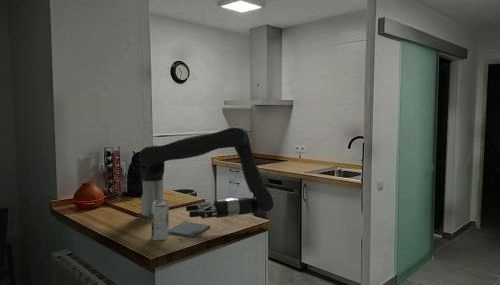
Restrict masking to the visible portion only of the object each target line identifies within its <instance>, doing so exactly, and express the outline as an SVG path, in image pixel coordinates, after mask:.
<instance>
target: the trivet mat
mask: <svg viewBox="0 0 500 285" xmlns="http://www.w3.org/2000/svg"><path fill="white" fill-rule="evenodd" d="M210 228H211V225H209V224H205V223H203V224H202V223H197V222H190V221H182V222H180V223H179V224H177V225H174V226H173V227H171V228H169V234H170V235H175V236H180V237H186V238H191V237H192V238H191V239H195V238H196V237H198V236H199V235H201V234H203V233H204V232H206V231H207V230H209V229H210ZM202 232H203V233H202ZM169 234H168V235H169Z"/></svg>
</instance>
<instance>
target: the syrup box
mask: <svg viewBox="0 0 500 285" xmlns="http://www.w3.org/2000/svg"><path fill="white" fill-rule="evenodd" d="M169 203H170V202H169V200H167V199H166V200H164V199H163V200H156V201H154V202H153V204H152V217H151V241H167V239H168V237H169V229H170V227H169V218H170V217H169V210H170V209H169Z"/></svg>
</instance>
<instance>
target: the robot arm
mask: <svg viewBox="0 0 500 285" xmlns="http://www.w3.org/2000/svg"><path fill="white" fill-rule="evenodd" d="M251 147H252V146H251V144H250V138H249V134H248V132H247V131H246V129H244V128H243V127H240V126H231V127H228V128H226V129H222V130H219V131H217V132H216V131H215V132H212V133H205V134H200V135H193V136H189V137H185V138H182V139H178V140H176V141H173V142H170V143H168V144H163V145H156V144H155V145H153V144H152V145H149V146H146V147H144V148H142V149H141V150H140V151H139V154H138V160H139V161H138V162H140V164H142V165H143V166H146V167H145V170H144V172H143V174H142V195H141V197H140V198H141V200H140V201H141V216H143V217H146V218H152V204H153V202H154V201H156V200H164V186H163V185H164V174H165V162H169V161H174V160H175V161H176V160H183V159H189V158H196V157H200V156H203V155H205V154H209V153H210V152H213V151H215V150H219V149H227V148H234V150H235V151H236V153H237V156H238V158H239V160H240V163H241V169H242V173H243V177H244V180H245V183H246V185H247V187H248V190H249V192H250V193H252V194H253V195H254V197H249V198H248V197H233V198H232V197H231V198H229V197H228V198H227V197H226V198H217V199H215V200H214V202H213V204H211V202H210V201H205V202H204V201H203V202H195V204H191V205H186V206H185V211H186V212H188V213H189V218H196V217H197V218H198V217H200V218H202V219H210V218H217V219H219V218H228V217H235V216H239V215H240V216H241V215H243V216H244V215H248V214H263V213H267V212H270V211H271V210H272V209H273V208H274V199H273V197H272V195H271V193H270V192H269V189H268V188H267V187H266V185H265V183H264V179H263V178H262V175H261V172H260V170H259V168H258V166H257V163H256V160H255V158H254V154H253V151H252V148H251Z"/></svg>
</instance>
